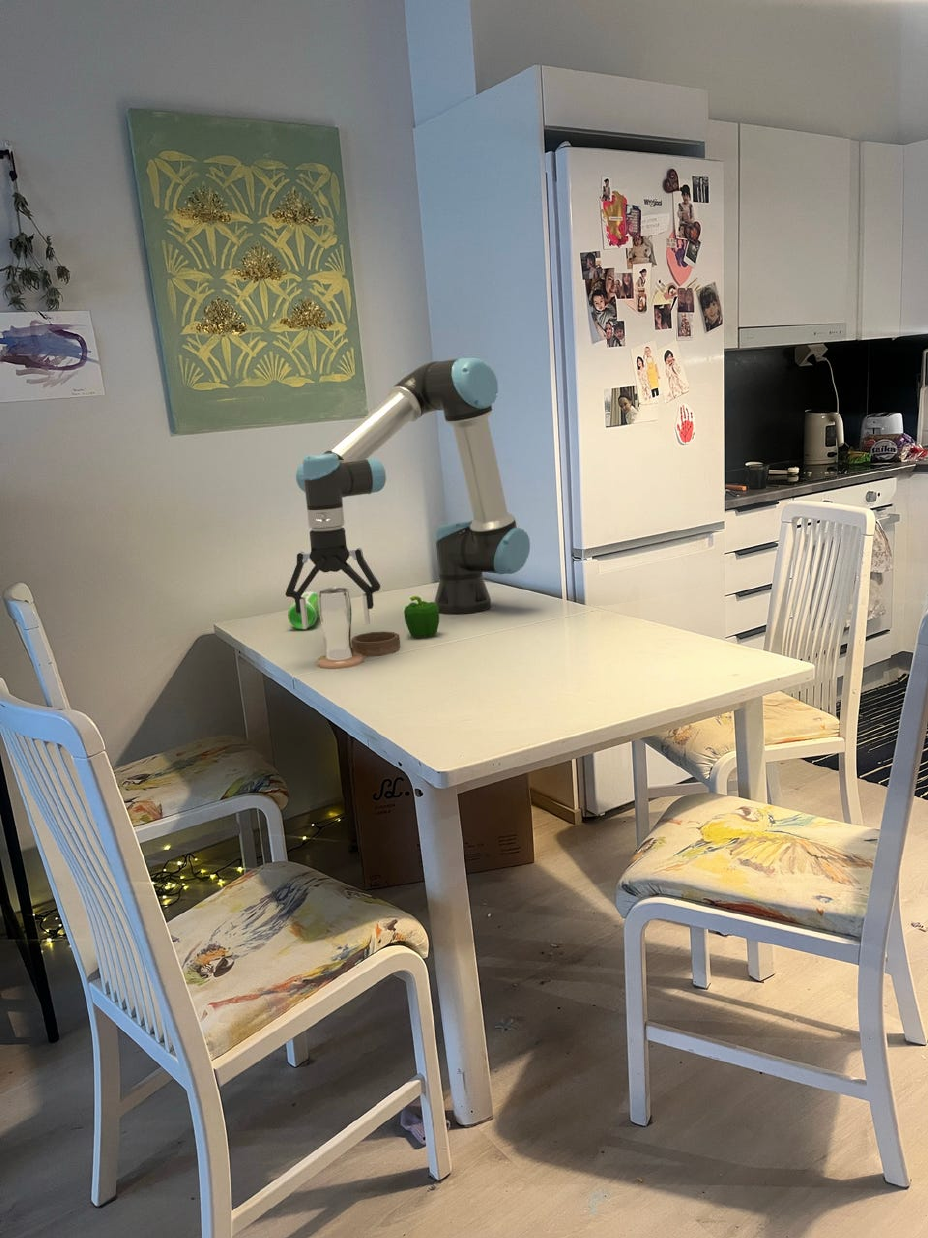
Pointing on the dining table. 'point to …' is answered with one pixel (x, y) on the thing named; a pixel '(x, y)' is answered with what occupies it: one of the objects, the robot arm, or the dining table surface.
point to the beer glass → (336, 622)
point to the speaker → (311, 611)
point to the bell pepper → (422, 618)
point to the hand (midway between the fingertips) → (336, 625)
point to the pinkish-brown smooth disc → (340, 662)
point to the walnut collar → (376, 643)
